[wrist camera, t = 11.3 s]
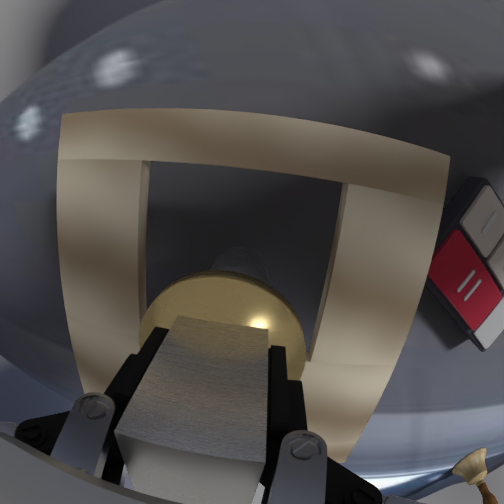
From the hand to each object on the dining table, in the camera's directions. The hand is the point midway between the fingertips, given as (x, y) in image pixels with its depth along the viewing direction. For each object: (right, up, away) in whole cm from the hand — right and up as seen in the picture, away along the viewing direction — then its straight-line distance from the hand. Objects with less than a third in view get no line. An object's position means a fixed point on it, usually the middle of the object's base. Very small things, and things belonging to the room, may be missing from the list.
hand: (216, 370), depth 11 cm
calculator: (+24, +3, +14) cm, 28 cm away
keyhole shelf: (+1, +4, +14) cm, 15 cm away
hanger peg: (+1, +3, +10) cm, 11 cm away
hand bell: (+44, -36, +24) cm, 62 cm away
